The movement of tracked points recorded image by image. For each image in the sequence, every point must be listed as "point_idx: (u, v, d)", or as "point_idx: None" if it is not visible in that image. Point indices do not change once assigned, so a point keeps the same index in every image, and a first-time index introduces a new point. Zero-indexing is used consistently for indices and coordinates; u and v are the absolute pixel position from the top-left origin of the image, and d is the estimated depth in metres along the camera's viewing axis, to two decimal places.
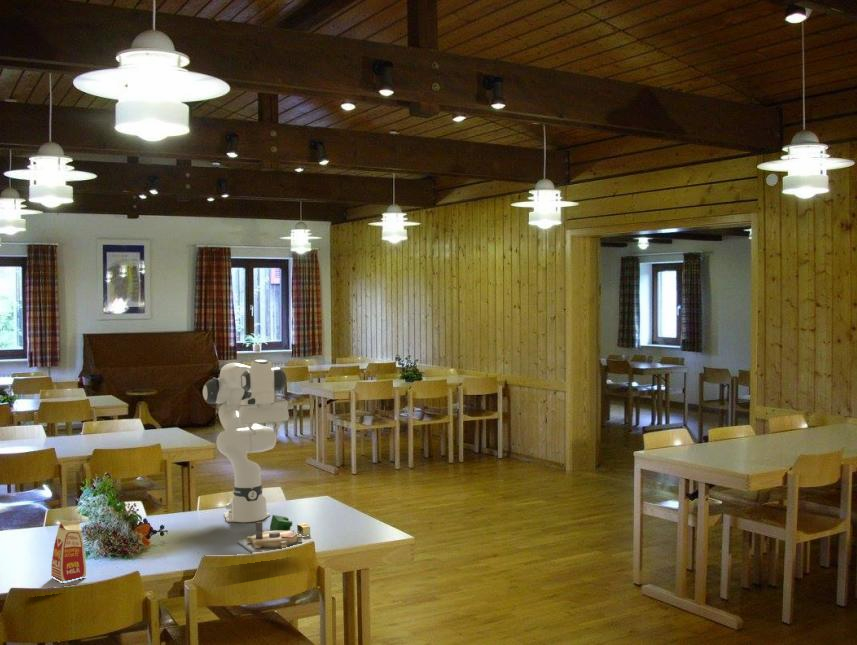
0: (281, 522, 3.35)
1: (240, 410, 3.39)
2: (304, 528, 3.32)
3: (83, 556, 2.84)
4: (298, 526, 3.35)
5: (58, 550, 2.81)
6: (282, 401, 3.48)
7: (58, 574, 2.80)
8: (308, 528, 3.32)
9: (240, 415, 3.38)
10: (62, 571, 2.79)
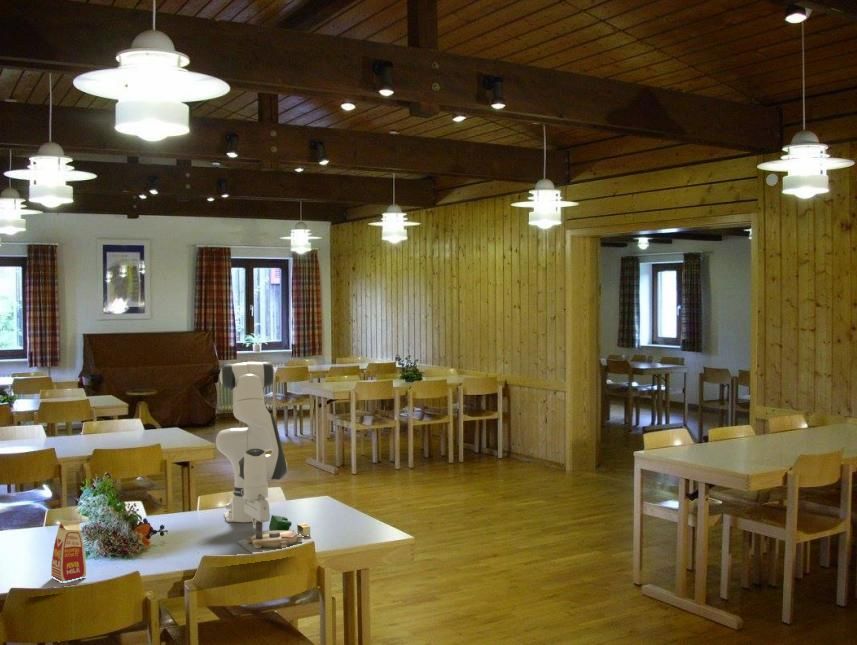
0: (280, 522, 3.35)
1: None
2: (304, 528, 3.32)
3: (83, 556, 2.84)
4: (298, 526, 3.35)
5: (58, 550, 2.81)
6: (262, 500, 3.14)
7: (58, 574, 2.80)
8: (308, 528, 3.32)
9: None
10: (62, 571, 2.79)
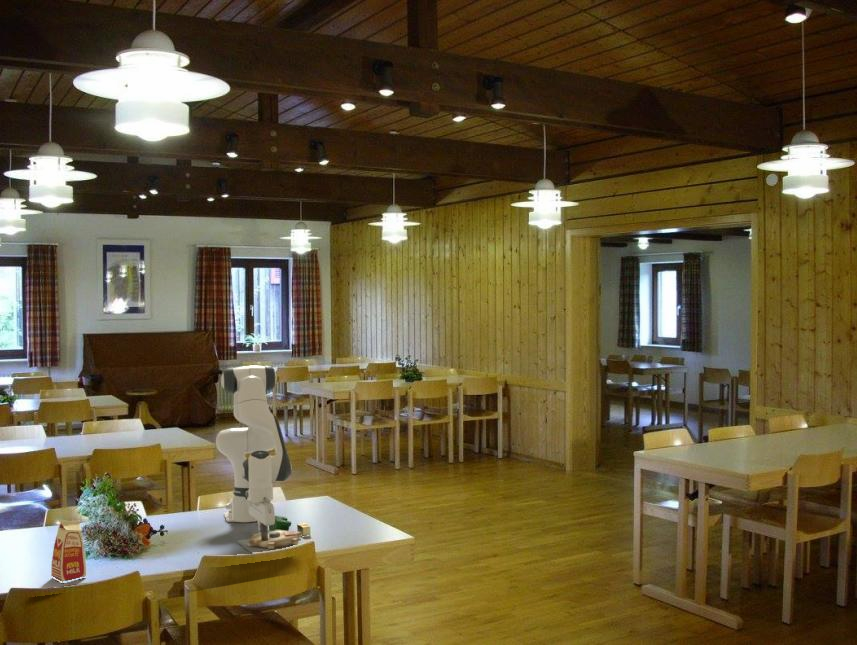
0: (280, 522, 3.35)
1: None
2: (304, 528, 3.32)
3: (83, 556, 2.84)
4: (298, 526, 3.35)
5: (58, 550, 2.81)
6: (267, 503, 3.10)
7: (58, 574, 2.80)
8: (308, 528, 3.32)
9: None
10: (62, 571, 2.79)
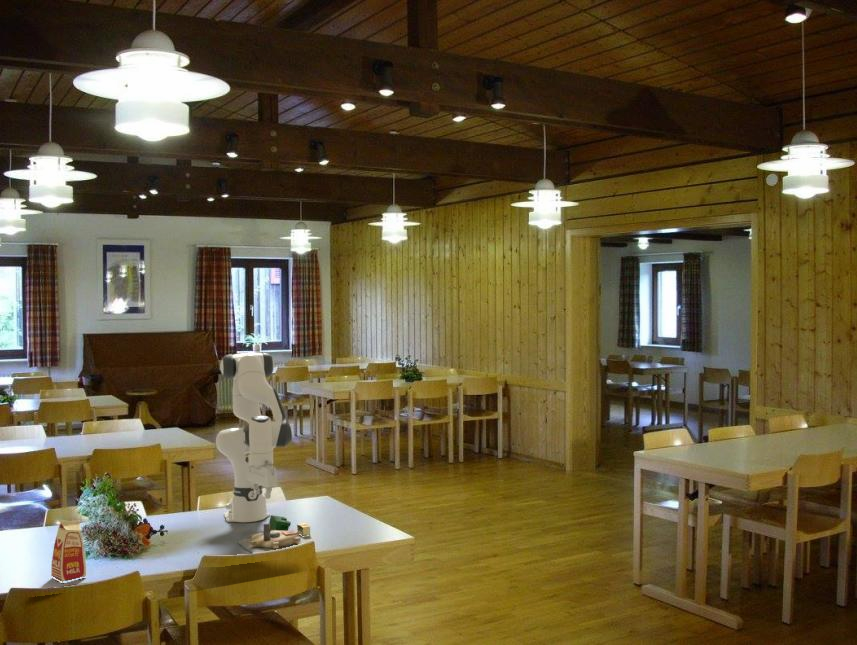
0: (279, 522, 3.35)
1: None
2: (304, 528, 3.32)
3: (83, 556, 2.84)
4: (298, 526, 3.35)
5: (58, 550, 2.81)
6: (269, 466, 3.13)
7: (58, 574, 2.80)
8: (308, 528, 3.32)
9: None
10: (62, 571, 2.79)
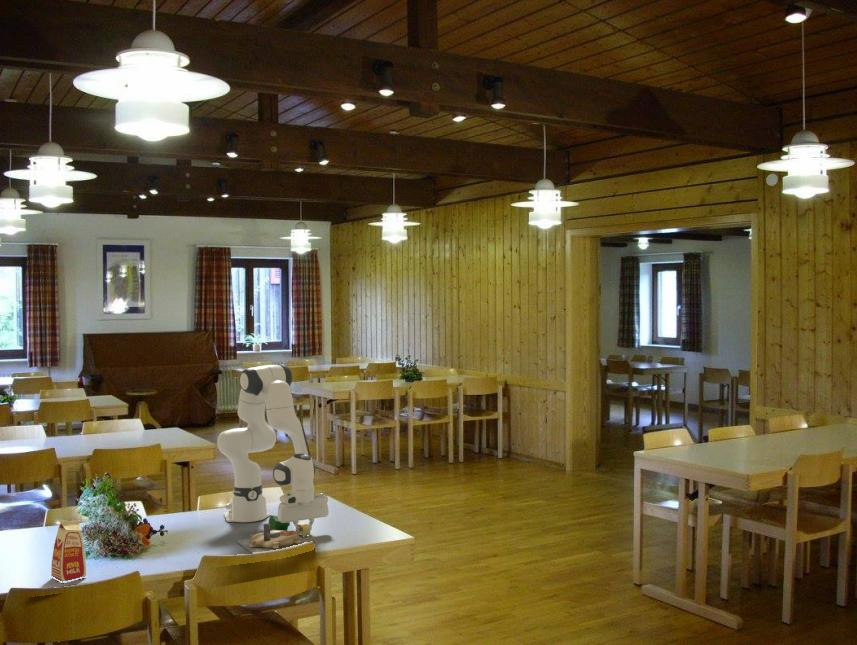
0: (278, 522, 3.35)
1: (280, 508, 3.30)
2: (304, 528, 3.32)
3: (83, 556, 2.84)
4: (298, 525, 3.35)
5: (58, 550, 2.81)
6: (322, 496, 3.38)
7: (58, 574, 2.80)
8: (308, 528, 3.32)
9: (280, 513, 3.29)
10: (62, 571, 2.79)
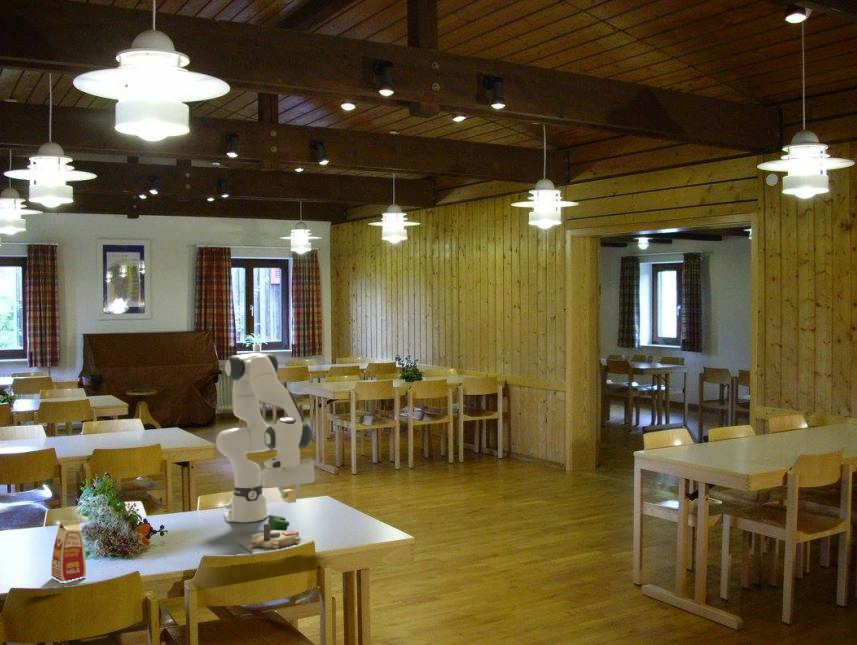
0: (278, 522, 3.35)
1: (264, 473, 3.19)
2: (289, 493, 3.21)
3: (83, 556, 2.84)
4: (284, 491, 3.25)
5: (58, 550, 2.81)
6: (308, 462, 3.28)
7: (58, 574, 2.80)
8: (294, 493, 3.22)
9: (264, 478, 3.19)
10: (62, 571, 2.79)
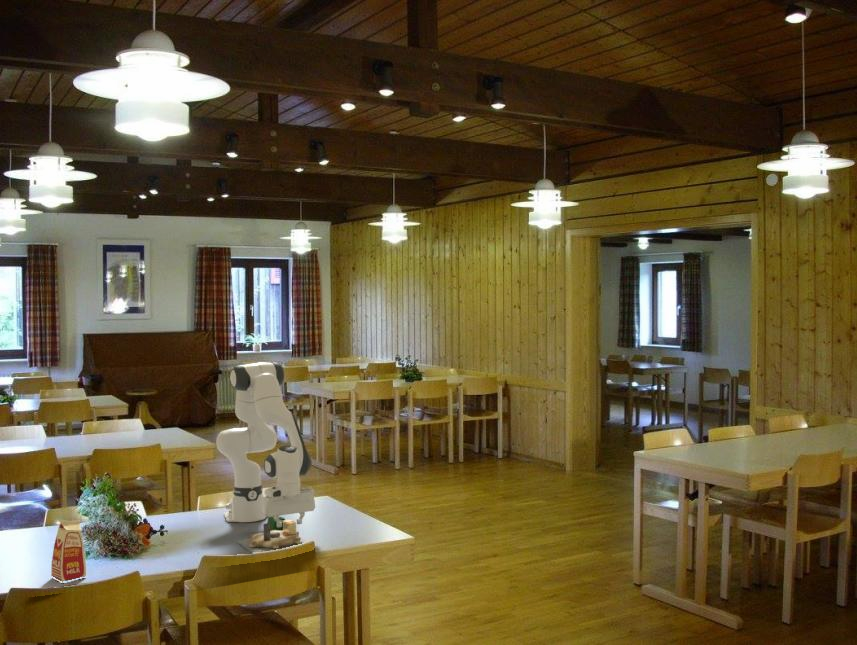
0: None
1: (264, 502, 3.19)
2: (290, 525, 3.21)
3: (83, 556, 2.84)
4: (284, 522, 3.25)
5: (58, 550, 2.81)
6: (308, 490, 3.28)
7: (58, 574, 2.80)
8: (294, 525, 3.22)
9: (264, 507, 3.19)
10: (62, 571, 2.79)
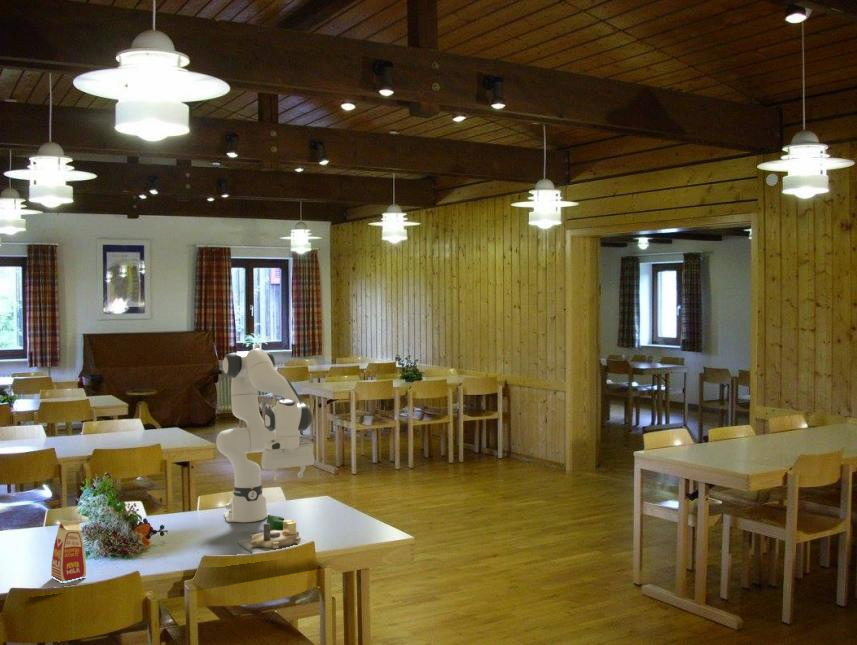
0: (276, 522, 3.35)
1: (263, 454, 3.19)
2: (290, 525, 3.21)
3: (83, 556, 2.84)
4: (284, 522, 3.25)
5: (58, 550, 2.81)
6: (308, 444, 3.28)
7: (58, 574, 2.80)
8: (294, 525, 3.22)
9: (263, 460, 3.18)
10: (62, 571, 2.79)
